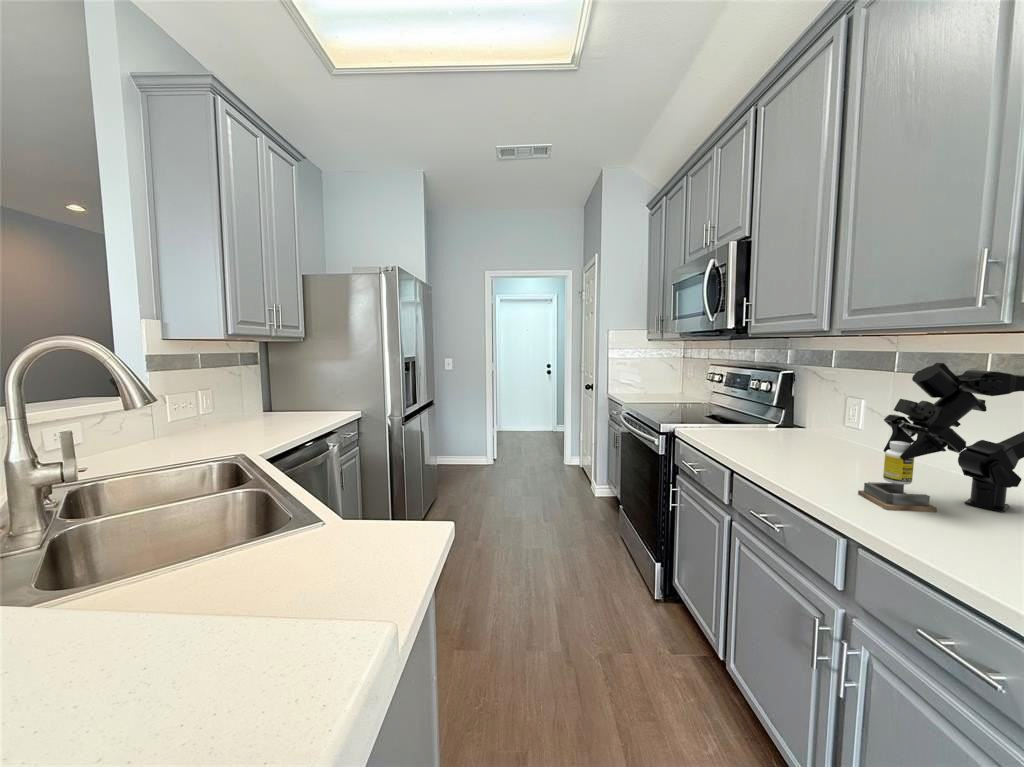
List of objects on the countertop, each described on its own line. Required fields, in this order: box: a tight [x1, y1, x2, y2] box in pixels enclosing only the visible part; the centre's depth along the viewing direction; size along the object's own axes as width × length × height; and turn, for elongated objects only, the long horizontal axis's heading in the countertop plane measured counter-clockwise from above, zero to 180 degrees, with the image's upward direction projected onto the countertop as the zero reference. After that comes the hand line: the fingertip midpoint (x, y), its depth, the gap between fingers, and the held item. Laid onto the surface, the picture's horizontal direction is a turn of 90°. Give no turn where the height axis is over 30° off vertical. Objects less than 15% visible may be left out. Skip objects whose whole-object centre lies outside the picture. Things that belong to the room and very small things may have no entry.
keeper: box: [857, 481, 938, 513], centre depth 108 cm, size 11×11×4 cm
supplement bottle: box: [882, 441, 915, 485], centre depth 108 cm, size 5×5×10 cm
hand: (893, 455), depth 108 cm, fingers closed on supplement bottle, 5 cm apart
